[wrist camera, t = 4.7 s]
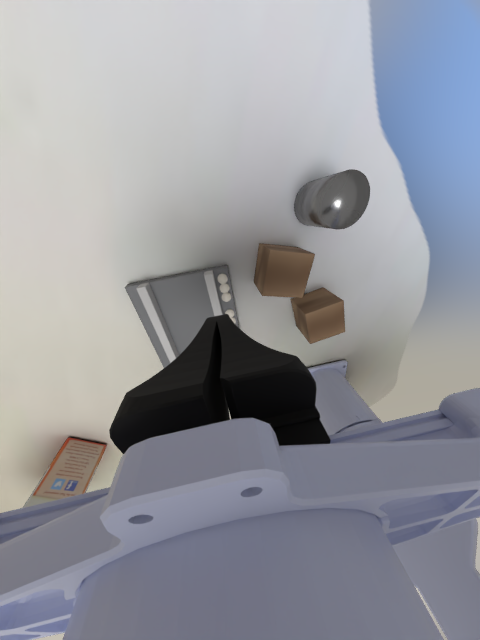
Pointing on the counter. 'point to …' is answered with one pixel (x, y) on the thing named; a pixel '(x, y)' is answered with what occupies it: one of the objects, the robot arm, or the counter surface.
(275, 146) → the counter surface
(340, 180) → the metal peg
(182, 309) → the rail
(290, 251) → the walnut block
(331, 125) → the counter surface
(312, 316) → the walnut block
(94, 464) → the cracker box
